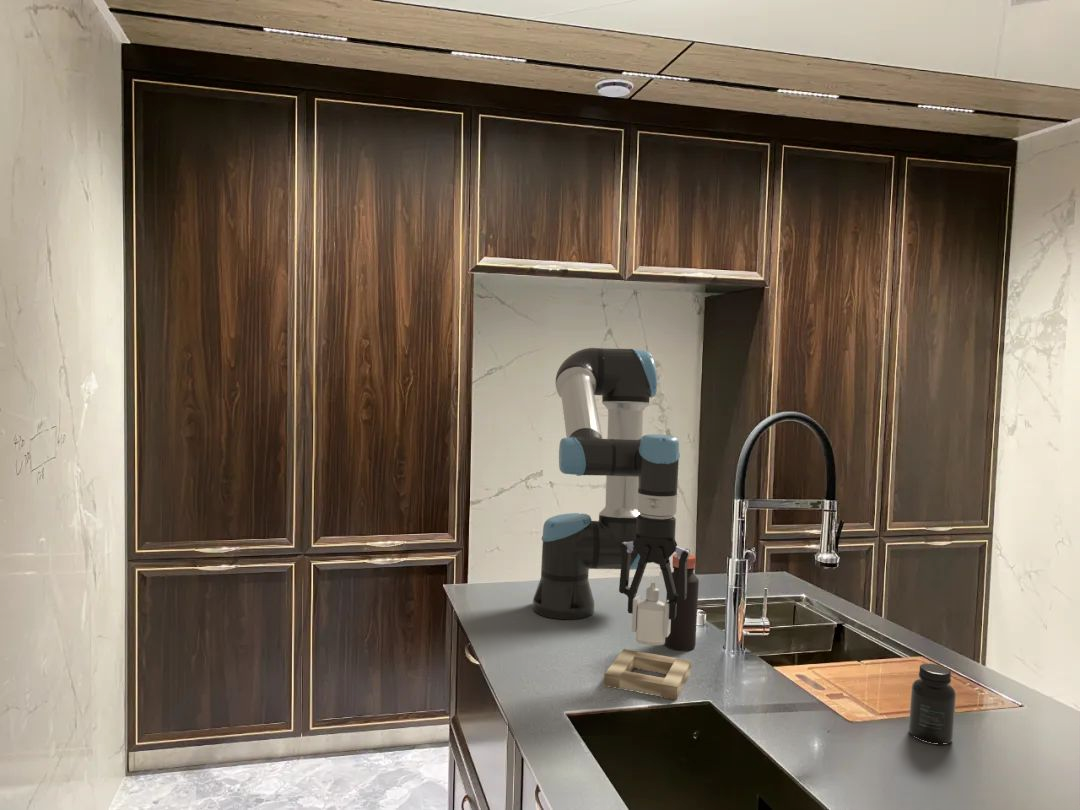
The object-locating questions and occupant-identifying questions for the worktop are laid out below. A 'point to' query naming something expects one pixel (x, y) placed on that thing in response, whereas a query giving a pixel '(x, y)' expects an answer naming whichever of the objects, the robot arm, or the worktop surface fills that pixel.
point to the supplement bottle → (932, 705)
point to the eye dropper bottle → (650, 618)
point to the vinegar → (684, 610)
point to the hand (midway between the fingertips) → (650, 632)
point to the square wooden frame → (664, 687)
